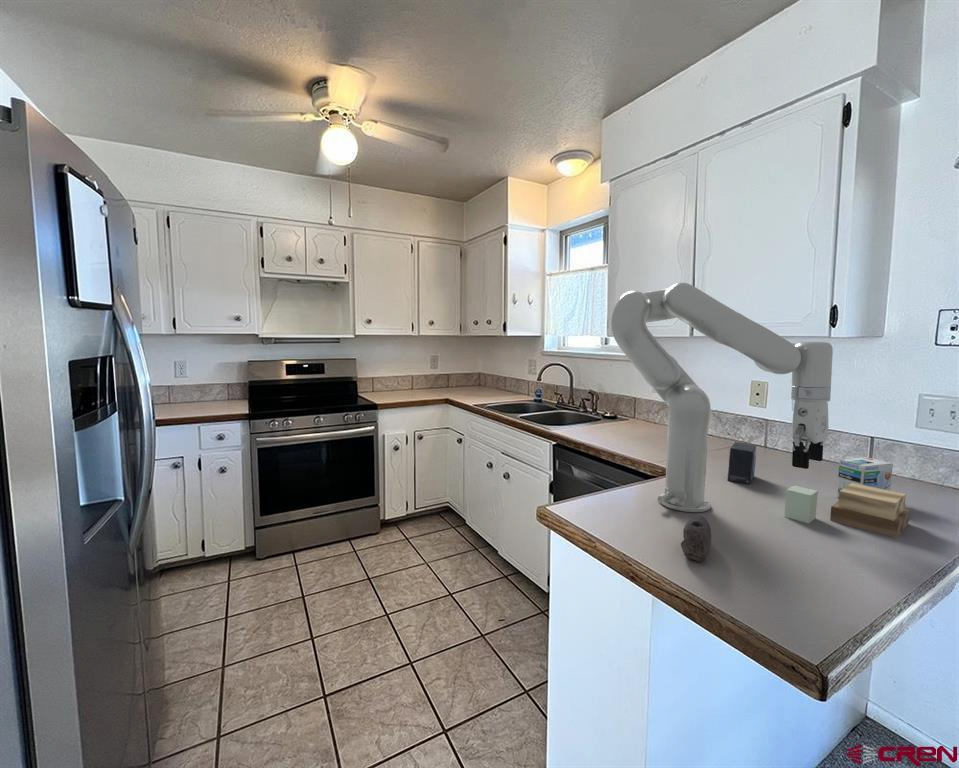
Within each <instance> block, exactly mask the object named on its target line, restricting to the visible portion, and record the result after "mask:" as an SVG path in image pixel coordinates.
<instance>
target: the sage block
mask: <svg viewBox="0 0 959 768" xmlns="http://www.w3.org/2000/svg"><path fill="white" fill-rule="evenodd" d="M785 490H786V492H785V505H784V516H783V517H784V518H787V519H790V518H791V519H790V520H794V521H797V522H801V523H805V524H810V523H811V522H813V521H815V519H817V516H816V515H817V507H818V506H817V505H818V494H819V491H818V490H817V489H810V488H806V487H802V486H798V485H792V486H791V487H789V488H787V489H785Z"/></svg>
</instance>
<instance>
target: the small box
mask: <svg viewBox="0 0 959 768" xmlns="http://www.w3.org/2000/svg"><path fill="white" fill-rule="evenodd" d="M756 458H757V444H750V443H745V442H738V441H735V442H733V444H732V445H731V446H730V448H729V459H728V471H727V481H728V482H729V481H731V482H735V483H740V484H746V485H751V483H752V481H753V480H754V477H755V472H756V471H755V470H756Z"/></svg>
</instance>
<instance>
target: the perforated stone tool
mask: <svg viewBox="0 0 959 768" xmlns="http://www.w3.org/2000/svg"><path fill="white" fill-rule="evenodd" d="M682 537H683V540H682V542H681V543H680V547H681V550H682V553H683V555H684V556H685V557H686V558H688V559H690V560H692V561H696V562H698V563H702V562H704V561H705V560H706V559H707V557H708V555H709V552H710V550H711V549H710V548H711V544H712V528H711V525H710V522H709V521H708V520H707V518H705V516H701V515H698V516H697V515H696V516H694V517H692V518H690V519H689V520H688V521H687V523H685V525H684V528H683V536H682Z"/></svg>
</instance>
